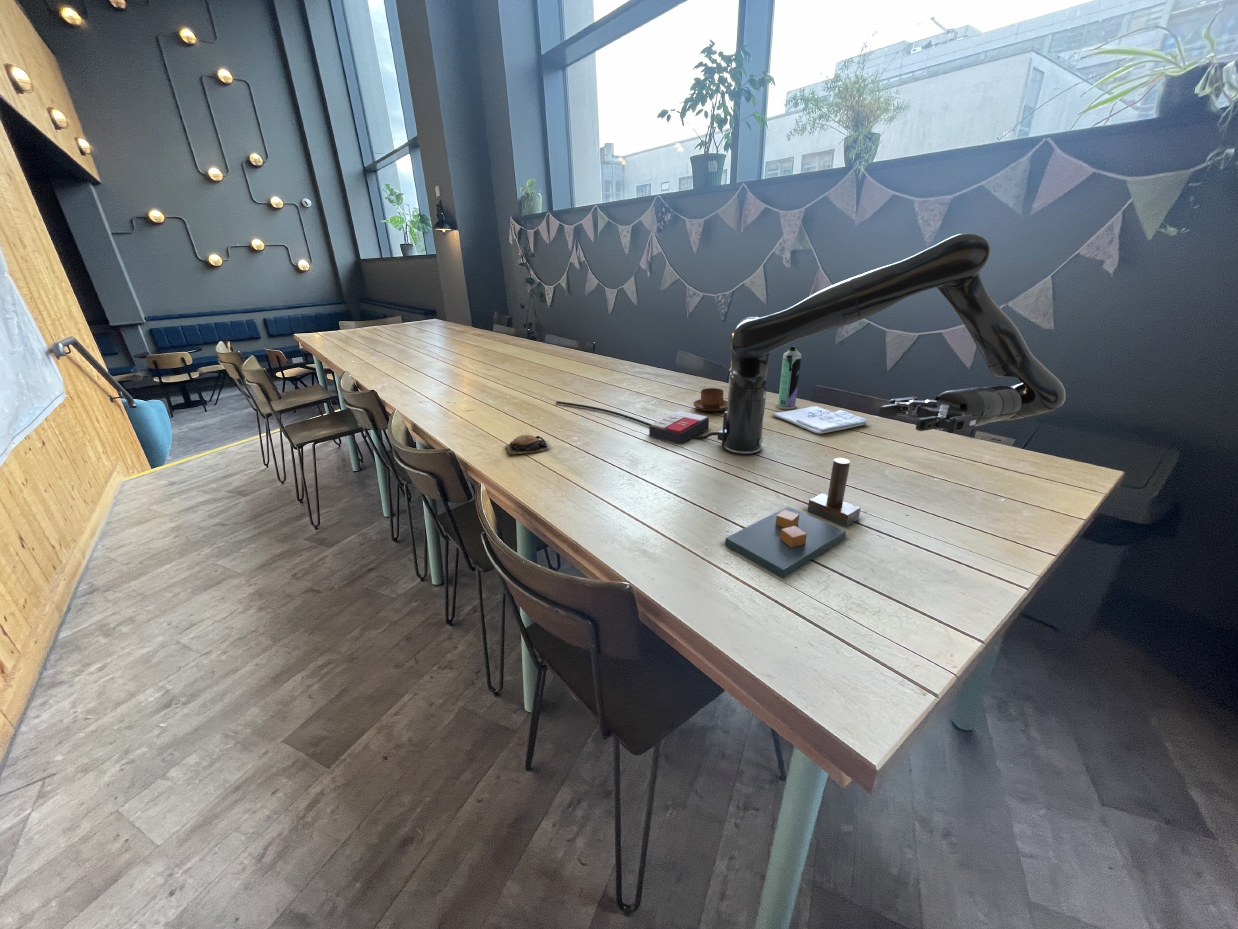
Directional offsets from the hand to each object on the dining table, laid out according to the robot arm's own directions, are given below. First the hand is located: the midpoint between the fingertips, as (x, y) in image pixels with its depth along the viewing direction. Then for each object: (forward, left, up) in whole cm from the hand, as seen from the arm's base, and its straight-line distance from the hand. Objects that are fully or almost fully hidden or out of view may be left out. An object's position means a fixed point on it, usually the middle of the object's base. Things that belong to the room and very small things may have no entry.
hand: (898, 418), depth 87 cm
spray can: (-53, +43, -19) cm, 71 cm away
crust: (-2, -27, -17) cm, 31 cm away
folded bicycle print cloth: (-38, +38, -19) cm, 57 cm away
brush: (-4, -11, -18) cm, 22 cm away
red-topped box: (-58, -1, -19) cm, 61 cm away
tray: (-4, -26, -18) cm, 32 cm away
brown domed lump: (-76, -41, -19) cm, 88 cm away
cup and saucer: (-68, +23, -19) cm, 74 cm away
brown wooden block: (-6, -23, -17) cm, 29 cm away
